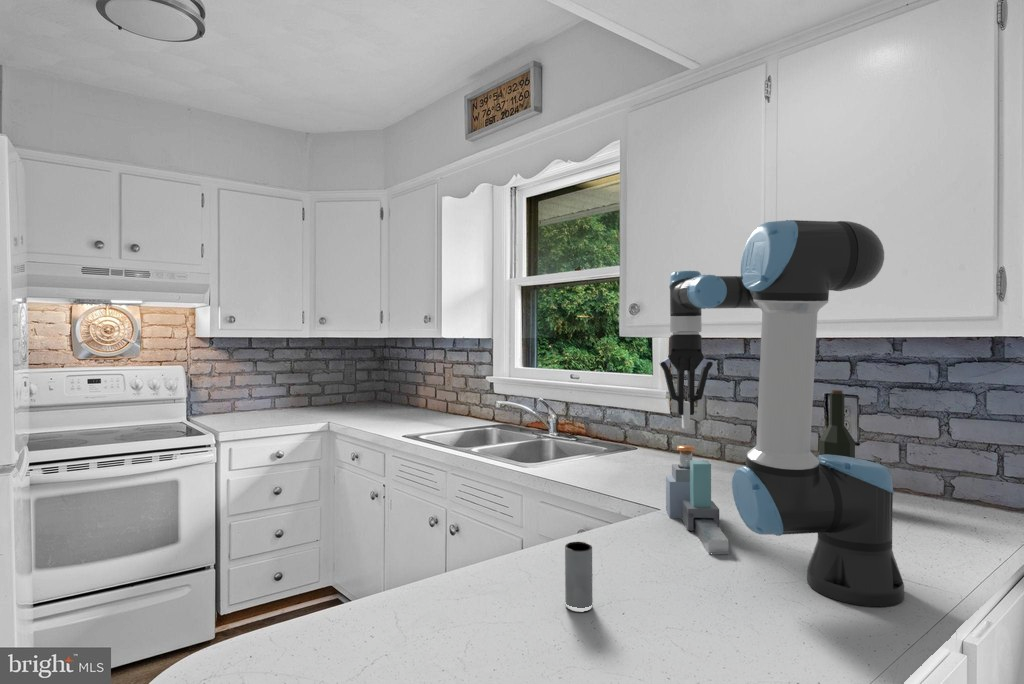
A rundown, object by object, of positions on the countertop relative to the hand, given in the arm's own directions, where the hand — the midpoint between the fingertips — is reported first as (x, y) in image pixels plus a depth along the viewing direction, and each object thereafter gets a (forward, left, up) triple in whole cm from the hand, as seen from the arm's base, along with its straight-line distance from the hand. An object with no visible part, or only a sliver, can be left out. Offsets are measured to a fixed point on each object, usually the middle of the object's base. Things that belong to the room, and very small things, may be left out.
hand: (685, 427), depth 152 cm
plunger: (0, 0, -13) cm, 13 cm away
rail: (-16, -2, -22) cm, 27 cm away
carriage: (-10, -2, -22) cm, 24 cm away
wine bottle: (+13, -42, -22) cm, 49 cm away
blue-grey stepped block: (0, 0, -22) cm, 22 cm away
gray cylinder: (-53, +27, -22) cm, 64 cm away
